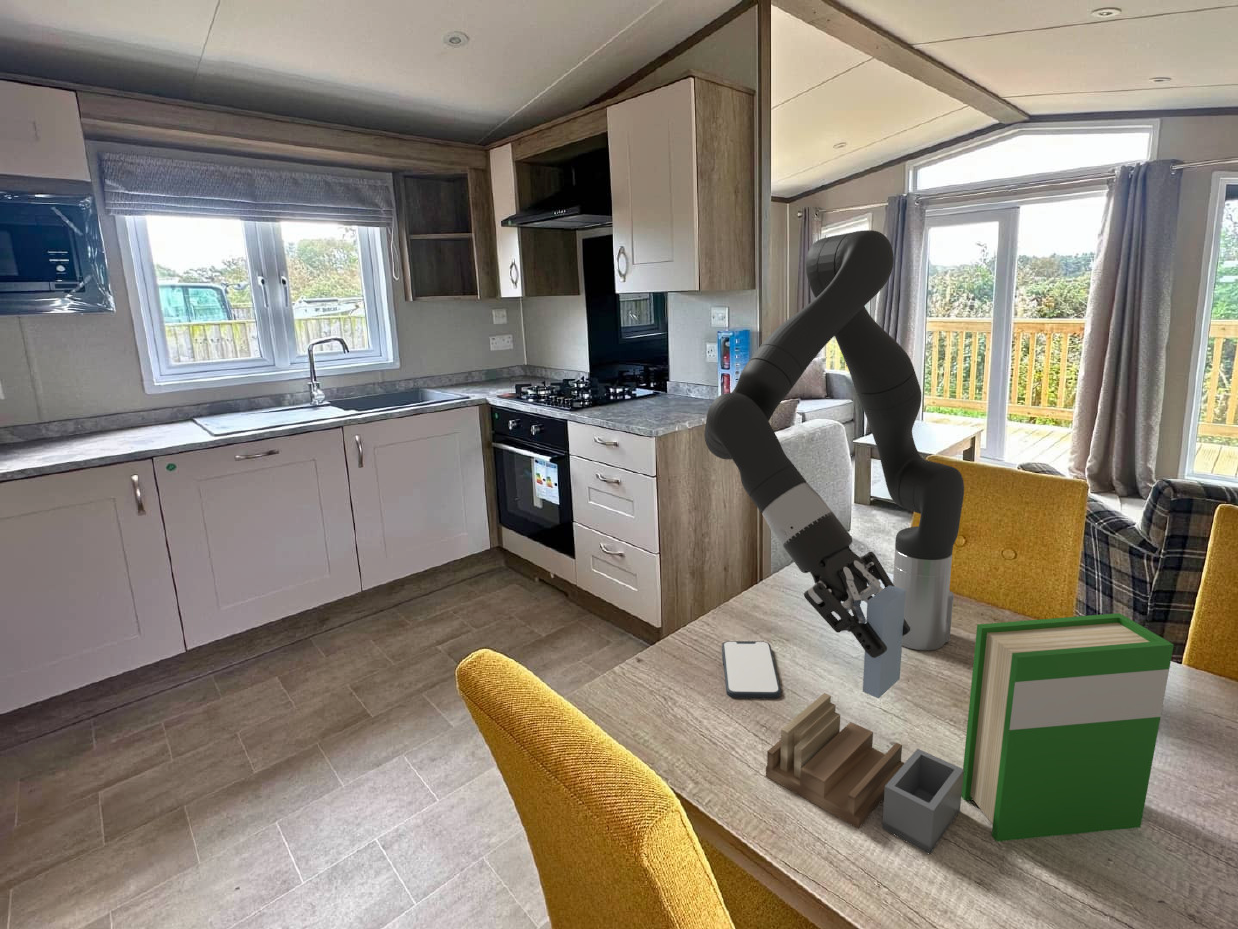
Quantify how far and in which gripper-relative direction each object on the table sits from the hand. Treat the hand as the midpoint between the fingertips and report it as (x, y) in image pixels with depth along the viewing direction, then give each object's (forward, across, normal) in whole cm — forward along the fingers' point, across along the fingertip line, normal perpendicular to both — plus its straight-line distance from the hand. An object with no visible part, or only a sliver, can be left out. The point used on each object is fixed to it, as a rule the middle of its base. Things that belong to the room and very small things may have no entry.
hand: (892, 643), depth 79 cm
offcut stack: (+7, 0, +22) cm, 23 cm away
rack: (+11, 0, +20) cm, 23 cm away
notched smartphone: (-5, +13, +37) cm, 40 cm away
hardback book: (+26, +12, +5) cm, 29 cm away
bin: (+19, 0, +12) cm, 22 cm away
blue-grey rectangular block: (+4, 0, +5) cm, 6 cm away
